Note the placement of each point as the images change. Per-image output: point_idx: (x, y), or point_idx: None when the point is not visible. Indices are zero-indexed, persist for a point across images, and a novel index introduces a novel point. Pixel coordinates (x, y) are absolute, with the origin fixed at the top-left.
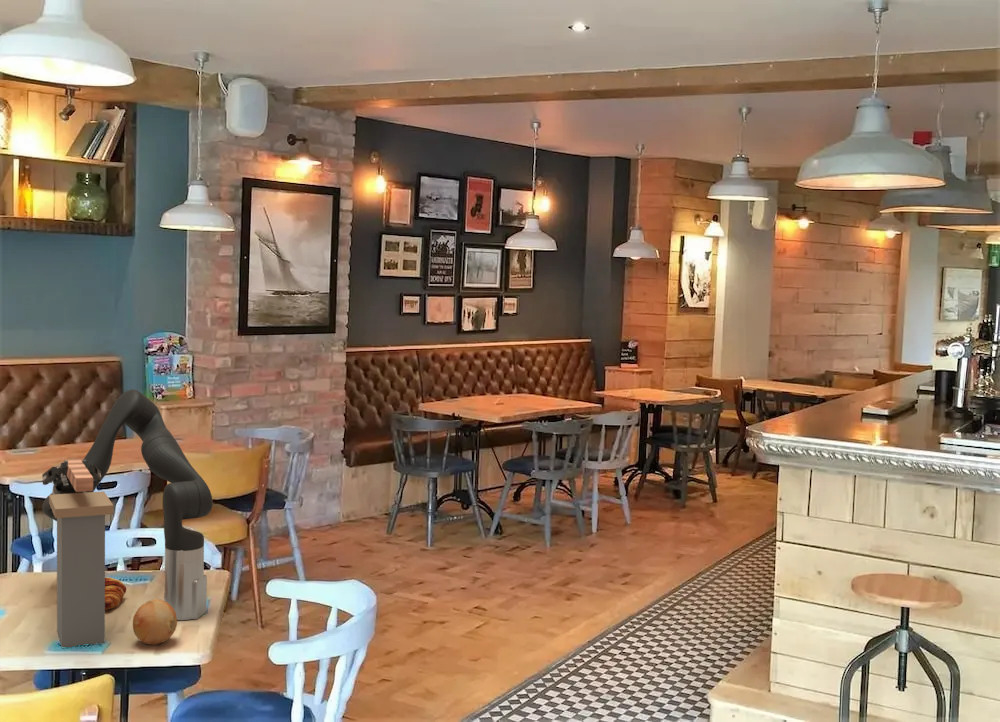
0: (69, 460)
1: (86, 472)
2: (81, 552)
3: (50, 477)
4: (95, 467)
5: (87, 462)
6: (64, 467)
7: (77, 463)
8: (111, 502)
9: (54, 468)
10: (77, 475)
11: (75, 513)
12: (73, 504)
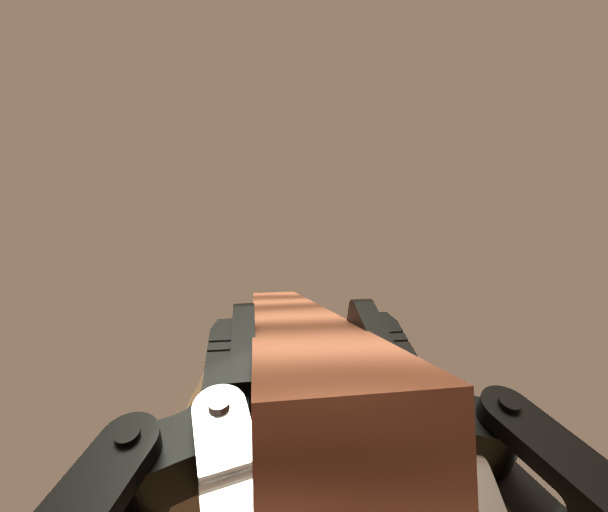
0: (376, 360)
1: (262, 298)
2: None
3: (526, 481)
4: (92, 464)
5: (223, 325)
6: None
7: (290, 327)
8: (198, 384)
9: (489, 398)
10: (290, 294)
11: None
12: None
